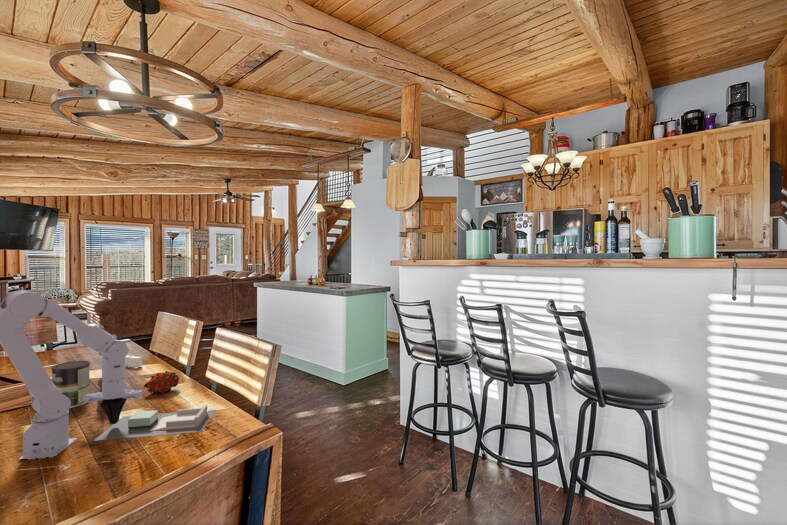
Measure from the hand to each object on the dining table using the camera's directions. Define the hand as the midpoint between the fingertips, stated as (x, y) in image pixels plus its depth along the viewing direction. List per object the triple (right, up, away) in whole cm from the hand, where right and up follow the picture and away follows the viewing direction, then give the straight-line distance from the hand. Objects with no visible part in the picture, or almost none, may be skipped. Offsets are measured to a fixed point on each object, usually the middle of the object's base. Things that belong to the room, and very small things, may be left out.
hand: (114, 422), depth 112 cm
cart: (+8, -1, +2) cm, 8 cm away
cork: (-13, -2, +15) cm, 20 cm away
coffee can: (-30, -2, +19) cm, 35 cm away
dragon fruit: (-4, -1, +30) cm, 30 cm away
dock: (+12, -2, +2) cm, 13 cm away
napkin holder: (-40, -1, +61) cm, 73 cm away
